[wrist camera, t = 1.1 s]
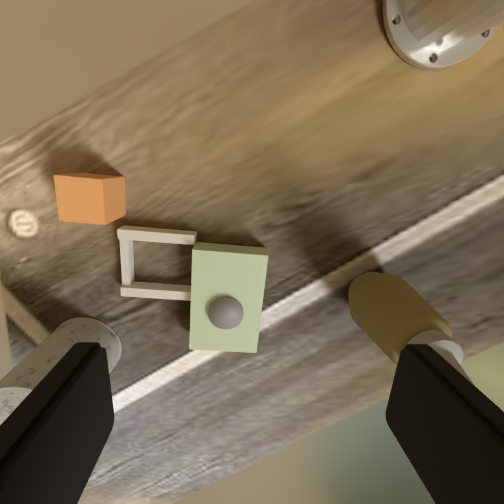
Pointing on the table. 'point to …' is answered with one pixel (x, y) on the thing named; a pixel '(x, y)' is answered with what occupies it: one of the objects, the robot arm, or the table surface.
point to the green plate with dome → (207, 287)
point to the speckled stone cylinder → (54, 359)
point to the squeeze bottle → (400, 317)
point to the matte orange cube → (90, 197)
